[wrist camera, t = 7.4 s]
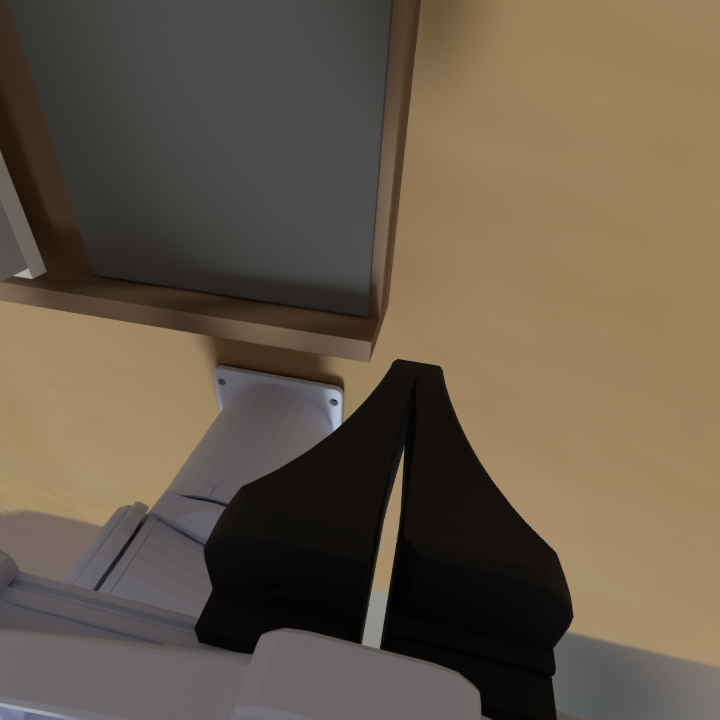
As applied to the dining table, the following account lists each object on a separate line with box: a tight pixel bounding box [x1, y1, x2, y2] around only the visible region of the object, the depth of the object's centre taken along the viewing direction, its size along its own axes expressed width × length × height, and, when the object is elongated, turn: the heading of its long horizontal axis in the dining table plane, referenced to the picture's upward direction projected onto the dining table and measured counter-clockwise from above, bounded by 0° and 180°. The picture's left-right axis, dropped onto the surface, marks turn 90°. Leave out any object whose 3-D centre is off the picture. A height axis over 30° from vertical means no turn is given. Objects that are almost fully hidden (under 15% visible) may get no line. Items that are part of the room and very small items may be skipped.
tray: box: [0, 0, 421, 362], centre depth 18 cm, size 28×15×5 cm, turn 87°
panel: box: [7, 0, 393, 317], centre depth 16 cm, size 13×13×1 cm
